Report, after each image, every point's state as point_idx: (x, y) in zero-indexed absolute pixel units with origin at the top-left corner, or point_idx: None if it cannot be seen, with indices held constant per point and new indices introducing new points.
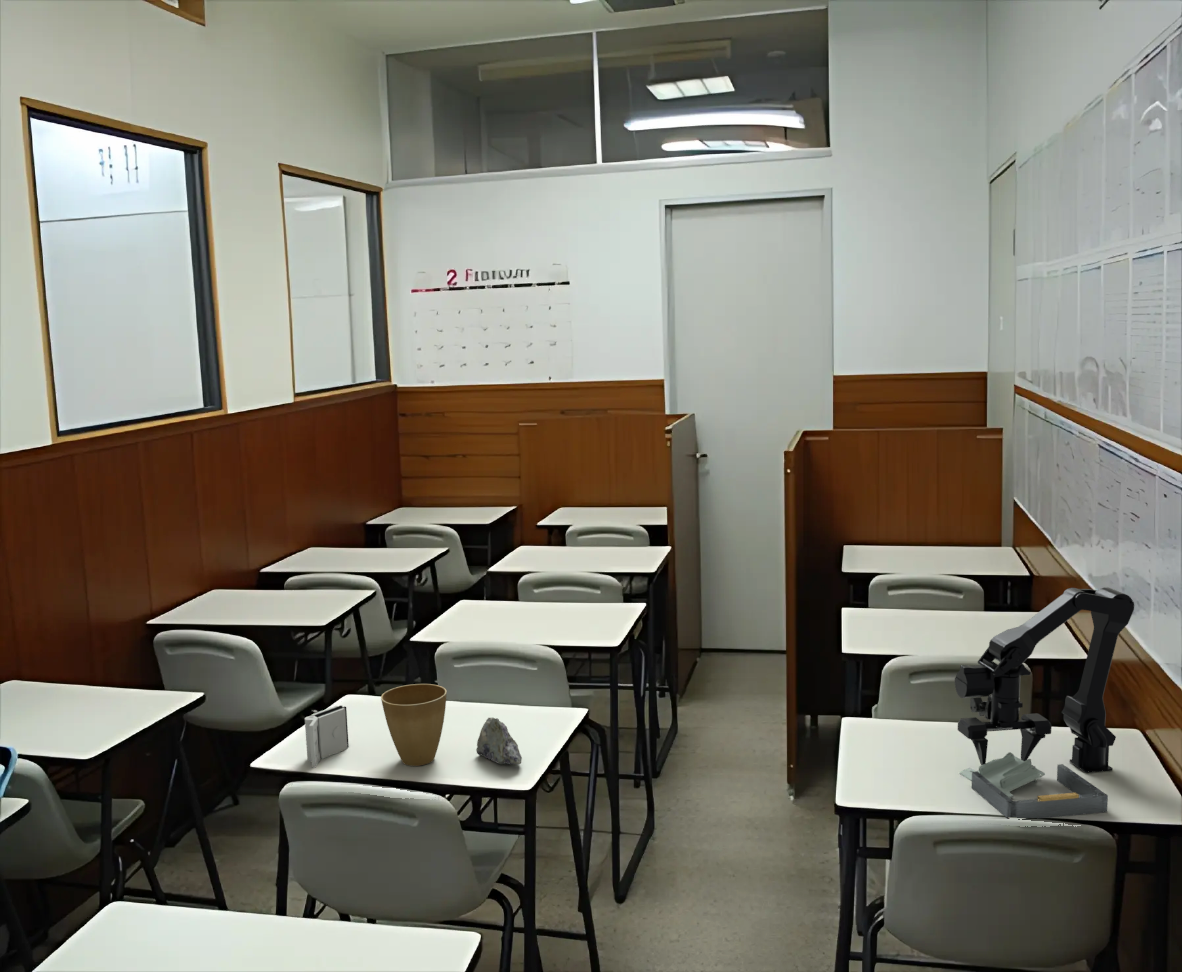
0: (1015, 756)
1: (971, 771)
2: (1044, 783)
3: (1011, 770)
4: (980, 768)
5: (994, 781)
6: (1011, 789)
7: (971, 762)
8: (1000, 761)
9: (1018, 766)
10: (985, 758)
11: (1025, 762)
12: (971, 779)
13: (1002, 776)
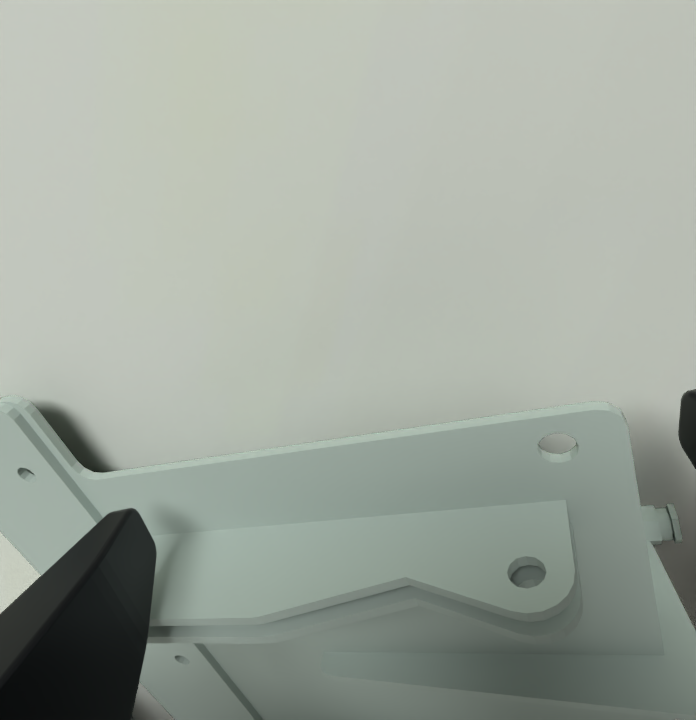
0: (631, 478)
1: (33, 463)
2: (675, 571)
3: (422, 675)
4: None
5: (237, 665)
6: None
7: (50, 60)
8: (349, 606)
9: (517, 688)
10: (124, 702)
11: (630, 698)
12: (44, 571)
13: (318, 659)
